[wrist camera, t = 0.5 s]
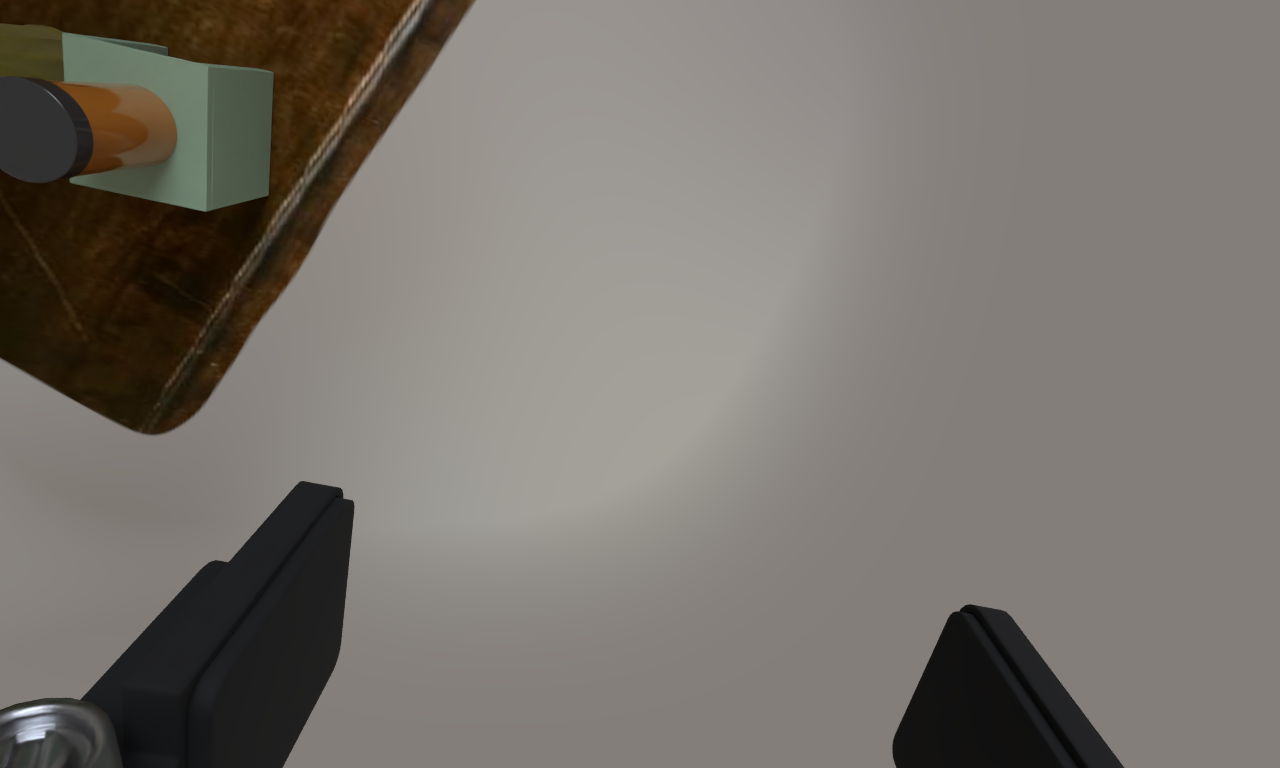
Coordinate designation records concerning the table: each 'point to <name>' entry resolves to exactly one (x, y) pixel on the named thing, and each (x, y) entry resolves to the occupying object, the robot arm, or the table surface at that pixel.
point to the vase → (31, 51)
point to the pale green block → (186, 122)
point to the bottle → (80, 128)
